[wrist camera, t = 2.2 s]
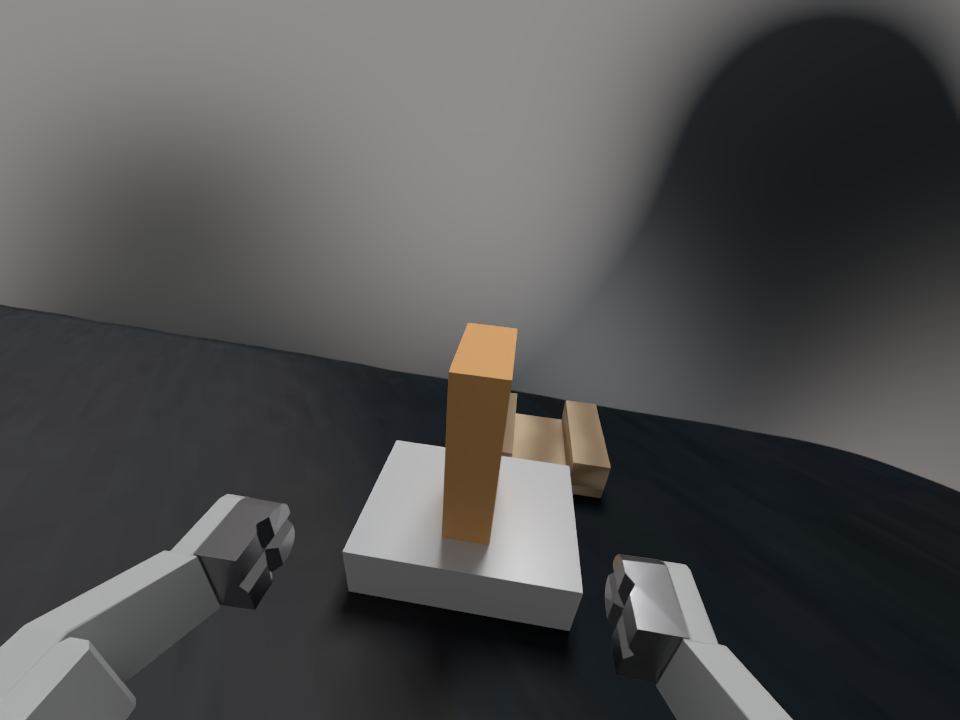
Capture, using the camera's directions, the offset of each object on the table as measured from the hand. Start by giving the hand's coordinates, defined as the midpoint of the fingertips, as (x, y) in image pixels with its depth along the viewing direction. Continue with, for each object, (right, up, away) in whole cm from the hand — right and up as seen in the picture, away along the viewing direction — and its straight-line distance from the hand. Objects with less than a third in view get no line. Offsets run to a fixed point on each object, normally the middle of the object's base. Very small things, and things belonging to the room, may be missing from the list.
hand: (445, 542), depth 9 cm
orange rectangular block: (0, -5, +17) cm, 18 cm away
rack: (+6, -5, +28) cm, 29 cm away
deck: (0, -9, +19) cm, 21 cm away
